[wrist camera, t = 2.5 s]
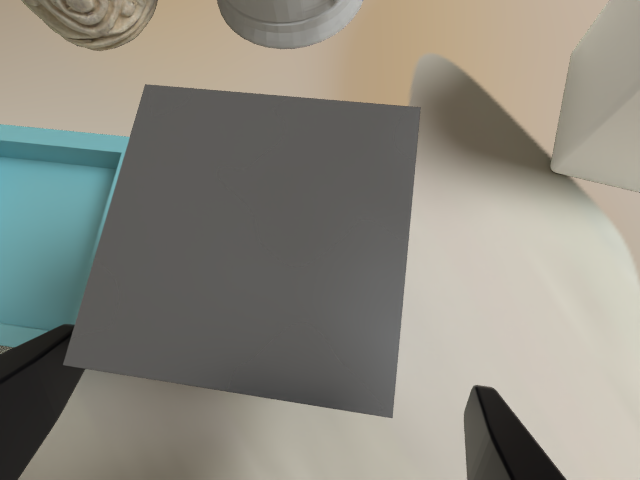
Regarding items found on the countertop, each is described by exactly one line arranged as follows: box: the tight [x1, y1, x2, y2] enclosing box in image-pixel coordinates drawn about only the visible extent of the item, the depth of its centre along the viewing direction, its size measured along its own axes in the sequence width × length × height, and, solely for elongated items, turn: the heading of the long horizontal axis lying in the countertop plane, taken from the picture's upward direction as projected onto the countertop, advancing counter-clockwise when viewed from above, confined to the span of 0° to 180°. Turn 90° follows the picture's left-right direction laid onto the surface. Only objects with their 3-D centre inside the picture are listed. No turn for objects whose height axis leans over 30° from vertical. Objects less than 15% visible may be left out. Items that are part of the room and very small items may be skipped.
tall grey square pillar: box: [63, 85, 421, 418], centre depth 13 cm, size 5×5×13 cm
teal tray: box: [0, 124, 130, 347], centre depth 20 cm, size 10×10×3 cm
